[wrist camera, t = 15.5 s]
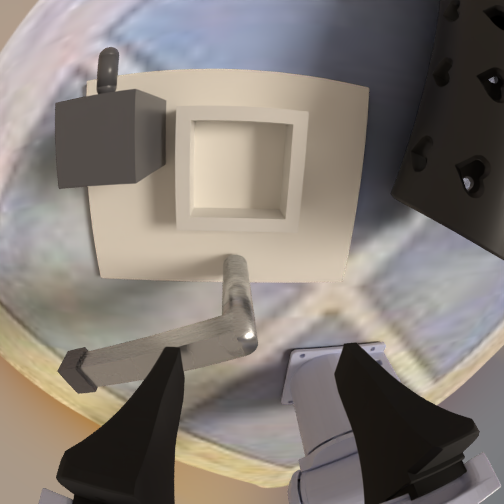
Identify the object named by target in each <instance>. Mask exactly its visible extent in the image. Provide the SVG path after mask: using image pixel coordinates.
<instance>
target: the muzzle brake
mask: <svg viewBox="0 0 504 504" xmlns="http://www.w3.org/2000/svg"><path fill="white" fill-rule="evenodd" d="M492 77H494V80H495V83H491V82H490V81H489V80H488V79H490V78H492ZM463 178H468V179H469V180H470V187H469V189H466V188H465V185H464V181H463ZM391 195H392V197H393V198H395V199H396V200H398V201H400V202H402V203H403V204H405V205H407V206H409V207H411V208H413V209H414V210H416V211H418V212H420V213H422V214H424V215H425V216H427V217H429V218H431V219H433V220H435V221H436V222H438V223H440V224H442V225H444V226H445V227H447V228H449V229H451V230H452V231H454V232H456V233H458V234H459V235H461V236H463V237H465V238H466V239H468V240H470V241H472V242H473V243H475V244H477V245H478V246H480V247H482V248H483V249H485V250H487V251H489V252H490V253H492V254H494V255H495V256H497V257H499V258H501V259H502V260H504V0H440V7H439V15H438V22H437V28H436V34H435V40H434V45H433V50H432V55H431V60H430V65H429V70H428V74H427V78H426V82H425V87H424V91H423V94H422V98H421V102H420V106H419V109H418V113H417V116H416V120H415V123H414V127H413V130H412V133H411V136H410V140H409V143H408V146H407V149H406V152H405V155H404V158H403V161H402V164H401V167H400V170H399V172H398V175H397V178H396V181H395V183H394V186H393V189H392V191H391Z"/></svg>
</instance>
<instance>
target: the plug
mask: <svg viewBox="0 0 504 504" xmlns="http://www.w3.org/2000/svg"><path fill="white" fill-rule="evenodd" d="M118 63H119V52H118V50H117V49H116V48H113V47H108V48H105V49H104V50H103V51H102V52H101V53H100V55H99V60H98V72H97V87H96V90H97V93H98V94H96V95H91V96H86V97H81V98H76V99H71V100H67V101H62V102H58V103H55V143H56V163H57V176H58V186H59V189H63V188H74V187H86V186H101V185H117V184H136V183H138V182H139V181H141V180H142V179H144V178H145V177H147V176H148V175H150V174H151V173H153V172H154V171H156V170H158V169H159V168H161V167H162V166H164V165H166V100H164V99H162V98H159V97H157V96H154V95H151V94H149V93H146V92H143V91H141V90H138V89H130V90H122V91H116V89H117V76H118Z"/></svg>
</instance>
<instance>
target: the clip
mask: <svg viewBox="0 0 504 504" xmlns="http://www.w3.org/2000/svg"><path fill="white" fill-rule="evenodd" d="M166 346H167V347H180V351H181V358H182V365H183V371H187V370H192V369H196V368H200V367H205V366H209V365H213V364H217V363H221V362H224V361H228V360H232V359H236V358H239V357H243V356H247V355H249V354H251V353H253V352H254V351H255V350H256V348H257V346H258V339H257V332H256V325H255V317H254V310H253V303H252V295H251V288H250V280H249V273H248V265H247V261H246V259H245V258H244V257H242V256H240V255H231V256H229V257H227V258H226V259H225V261H224V263H223V292H222V316H218V317H215V318H212V319H208V320H205V321H202V322H198V323H195V324H191V325H188V326H184V327H181V328H177V329H174V330H170V331H166V332H163V333H159V334H155V335H152V336H148V337H144V338H140V339H136V340H133V341H129V342H125V343H121V344H117V345H113V346H108V347H104V348H100V349H96V350H91V351H88V350H87V349H86V348H85V347H83V348H79V349H75V350H71V351H68V352H67V354H66V356H65V358H64V360H63V361H62V363H61V365H60V367H59V369H58V373H59V374H60V375H61V376H62V377H63V378H64V379H65V380H66V381H67V383H68V384H69V385H70V386H71V387H72V388H73V389H74V390H75V391H76V392H77V393H78V394H80V393H89V392H96V390H97V387H99V386H106V385H113V384H120V383H126V382H132V381H138V380H143V379H145V378H146V376H147V375H148V374H149V372H150V371H151V369H152V368H153V366H154V364H155V363H156V361H157V360H158V358H159V356H160V354H161V353H162V351H163V349H164V348H165V347H166Z"/></svg>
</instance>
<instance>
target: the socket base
mask: <svg viewBox="0 0 504 504" xmlns="http://www.w3.org/2000/svg"><path fill="white" fill-rule="evenodd" d="M96 87H97V79H95V80H90V81H87V93H86V96H91V95H96V94H98V93H97V90H96ZM130 89H138V90H141V91H143V92H146V93H149V94H151V95H154V96H157V97H159V98H162V99H164V100H166V165H164V166H162V167H161V168H159V169H158V170H156V171H154V172H153V173H151V174H150V175H148V176H147V177H145V178H144V179H142V180H141V181H139V182H138V183H136V184H117V185H101V186H88V193H89V203H90V212H91V220H92V228H93V235H94V242H95V248H96V254H97V259H98V265H99V270H100V275H101V278H112V279H135V280H163V281H200V282H223V263H224V261H225V259H226V258H227V257H229V256H231V255H240V256H242V257H244V258H245V259H246V261H247V265H248V273H249V280H250V282H343V277H344V273H345V268H346V263H347V259H348V254H349V248H350V243H351V238H352V232H353V227H354V221H355V215H356V209H357V203H358V196H359V189H360V182H361V174H362V166H363V158H364V149H365V139H366V128H367V116H368V101H369V88H368V87H364V86H359V85H355V84H350V83H346V82H341V81H335V80H330V79H324V78H318V77H312V76H305V75H298V74H290V73H281V72H270V71H258V70H240V69H183V70H166V71H153V72H143V73H134V74H126V75H119V76H117V89H116V91H122V90H130Z"/></svg>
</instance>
